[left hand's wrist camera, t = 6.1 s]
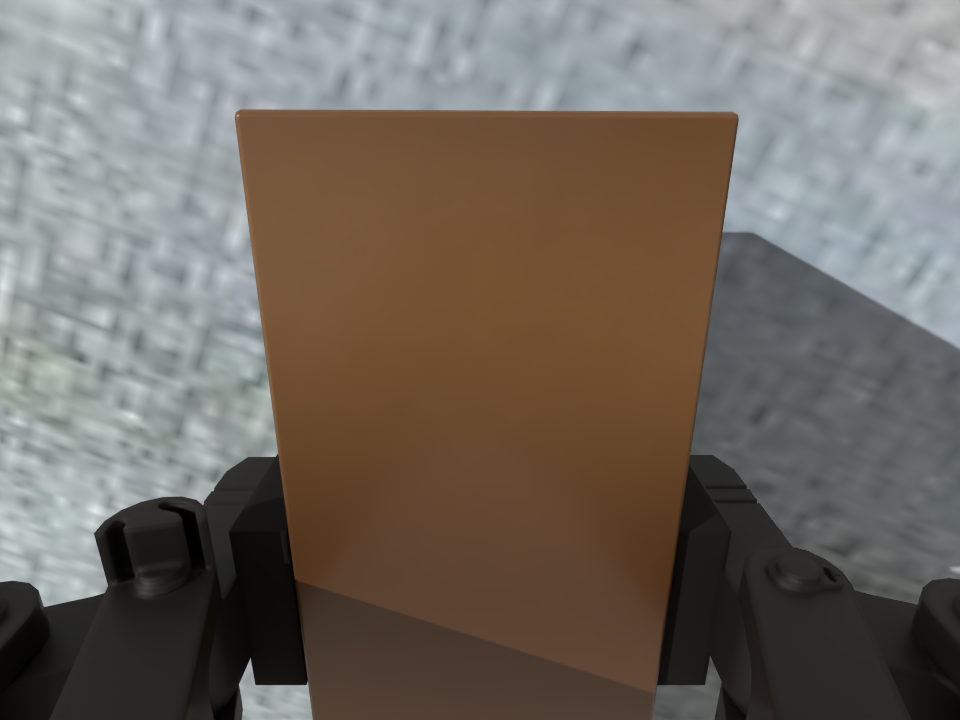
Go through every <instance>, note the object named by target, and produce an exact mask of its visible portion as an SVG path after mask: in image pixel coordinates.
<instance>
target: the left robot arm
mask: <svg viewBox="0 0 960 720" xmlns="http://www.w3.org/2000/svg"><path fill="white" fill-rule="evenodd" d="M94 535H95V539H96V542H97V546H98V550H99V553H100V557H101V561H102V565H103V568H104V572H105V576H106V579H107V583H108V588H107V590H106V592H105V593H104V594H101V595H97V596H93V597H89V598H85V599H80V600H75V601H71V602H66V603H61V604H57V605H52V606H48V607H44V606H43V603H42V600H41V597H40V594H39V591H38V590H37V589H36V588H35V587H33V586H32V585H31V584H30V583H25V582H18V581H7V582H0V720H242V712H243V708H242V700H241V694H240V689H239V683H240V680H241V678H242V676H243V674H244V671H245V669H246V667H247V664H248V662H249V660H250V658H251V662H252V668H253V673H254V679H255V685H307V682H308V678H307V670H306V662H305V655H304V647H303V639H302V632H301V624H300V616H299V608H298V601H297V593H296V585H295V578H294V570H293V562H292V554H291V547H290V539H289V531H288V524H287V516H286V508H285V501H284V493H283V485H282V477H281V470H280V462H279V454H277V456H276V457H248V458H246V459H245V460H243V461H242V462H240V463H239V464H237V465H236V466H234V467H233V468H231V469H230V470H228V471H227V472H226V473H225V474H224V476H223V477H222V478H221V480H220V481H219V482H218V484H217V485H216V486H215V488H214V491H212V492H211V493H210V494H209V496H208V497H207V498H206V500H205V501H204V505H202V504H201V503H199V502H198V501H197V500H194V499H190V498H185V497H162V498H157V499H153V500H148V501H144V502H140V503H138V504H136V505H133V506H131V507H128V508H126V509H123V510H121V511H120V512H118V513H116V514H115V515H113V516H112V517H110V518H109V519H107V520H106V521H104V523H103V524H102V525H101V526H100V527H99V528H98V529H97V531H96V532H95V533H94ZM710 656H711V658H712V661H713V663H714V665H715V667H716V670H717V672H718V674H719V676H720V679H721V681H722V683H721V689H720V694H719V699H718V704H717V710H716V715H715V720H960V580H959V579H951V578H947V579H940V580H932V581H931V582H930V583H928V584H927V585H926V586H925V587H923V589H922V592H921V596H920V599H919V602H918V605H916V604H911V603H906V602H902V601H897V600H892V599H888V598H883V597H878V596H874V595H869V594H866V593H862V592H858V591H855V590H854V589H853V586H852V585H851V583H850V582H849V580H848V579H847V578H846V576H845V575H844V574H843V572H842V571H840V570H839V569H838V568H836V567H835V566H834V565H832V564H831V563H830V562H829V561H827V560H826V559H823V558H821V557H819V556H817V555H815V554H813V553H811V552H808V551H806V550H802V549H798V548H794V547H792V546H791V544H790V543H789V542H788V540H787V539H786V538H785V536H784V535H783V534H782V532H781V531H780V530H779V529H778V527H777V526H776V525H775V523H774V522H773V521H772V519H771V518H770V517H769V515H768V514H767V513H766V511H765V510H764V509H763V507H762V506H761V505H760V503H757V499H756V498H755V497H754V495H753V494H752V493H751V491H750V490H749V489H747V488H746V485H745V484H744V482H743V481H742V480H741V478H740V477H739V476H738V474H737V473H736V472H735V470H734V469H732V468H731V467H729V466H728V465H726V464H725V463H723V462H722V461H720V460H719V459H717V458H716V457H714V456H713V455H690V459H689V466H688V473H687V480H686V487H685V494H684V501H683V508H682V515H681V521H680V528H679V535H678V542H677V549H676V556H675V563H674V570H673V577H672V584H671V591H670V598H669V605H668V612H667V618H666V625H665V632H664V639H663V646H662V653H661V660H660V667H659V674H658V681H657V685H705V681H706V675H707V670H708V664H709V658H710Z"/></svg>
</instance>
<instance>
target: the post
mask: <svg viewBox="0 0 960 720" xmlns="http://www.w3.org/2000/svg"><path fill="white" fill-rule="evenodd" d="M235 123H236V131H237V138H238V146H239V154H240V162H241V169H242V177H243V185H244V192H245V200H246V208H247V215H248V223H249V231H250V239H251V246H252V254H253V262H254V269H255V277H256V285H257V293H258V300H259V308H260V316H261V323H262V331H263V339H264V346H265V354H266V362H267V370H268V377H269V385H270V393H271V400H272V408H273V416H274V424H275V431H276V439H277V447H278V454H279V462H280V470H281V477H282V485H283V493H284V501H285V508H286V516H287V524H288V531H289V539H290V547H291V554H292V562H293V570H294V578H295V585H296V593H297V601H298V608H299V616H300V624H301V632H302V639H303V647H304V655H305V662H306V670H307V678H308V685H309V693H310V701H311V709H312V716H313V720H652V715H653V709H654V702H655V695H656V688H657V681H658V674H659V667H660V660H661V653H662V646H663V639H664V632H665V625H666V618H667V612H668V605H669V598H670V591H671V584H672V577H673V570H674V563H675V556H676V549H677V542H678V535H679V528H680V521H681V515H682V508H683V501H684V494H685V487H686V480H687V473H688V466H689V459H690V452H691V445H692V438H693V431H694V424H695V418H696V411H697V404H698V397H699V390H700V383H701V376H702V369H703V362H704V355H705V348H706V341H707V334H708V327H709V321H710V314H711V307H712V300H713V293H714V286H715V279H716V272H717V265H718V258H719V251H720V244H721V237H722V230H723V224H724V217H725V210H726V203H727V196H728V189H729V182H730V175H731V168H732V161H733V154H734V147H735V140H736V133H737V127H738V115H737V114H736V113H734V112H650V111H440V110H239V111H237V112H236V114H235Z"/></svg>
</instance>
